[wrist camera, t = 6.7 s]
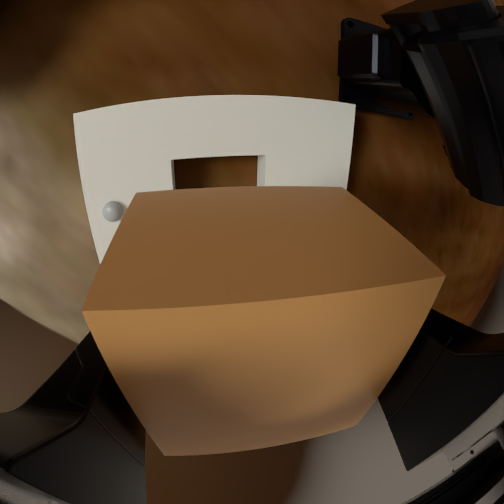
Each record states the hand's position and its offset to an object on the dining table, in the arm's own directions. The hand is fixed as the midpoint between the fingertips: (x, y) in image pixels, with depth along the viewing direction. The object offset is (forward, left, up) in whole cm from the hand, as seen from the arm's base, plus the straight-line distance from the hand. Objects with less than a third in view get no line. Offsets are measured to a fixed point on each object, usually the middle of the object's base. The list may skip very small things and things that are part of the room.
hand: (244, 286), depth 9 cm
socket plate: (0, 0, -10) cm, 10 cm away
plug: (0, 0, -3) cm, 3 cm away
